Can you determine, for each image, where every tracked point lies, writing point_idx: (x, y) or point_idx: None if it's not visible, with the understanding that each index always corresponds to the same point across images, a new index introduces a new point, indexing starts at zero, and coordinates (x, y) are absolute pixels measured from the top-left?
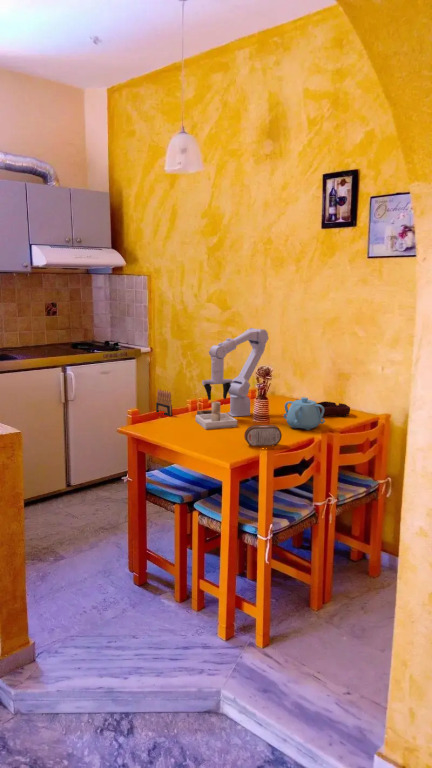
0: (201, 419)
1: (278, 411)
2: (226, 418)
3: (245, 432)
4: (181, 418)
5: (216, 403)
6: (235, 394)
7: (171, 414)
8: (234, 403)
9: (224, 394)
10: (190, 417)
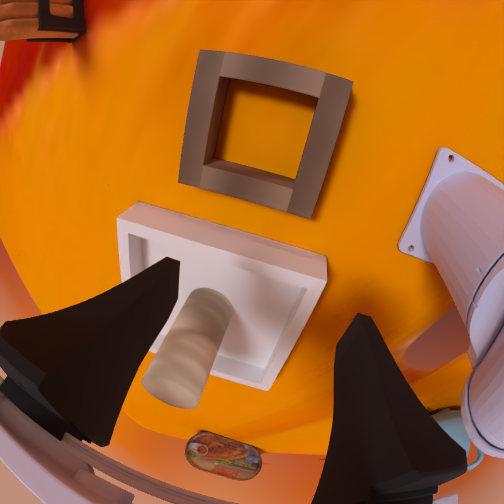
0: None
1: None
2: (296, 299)
3: (186, 450)
4: (97, 106)
5: (165, 400)
6: (496, 339)
7: (79, 29)
8: (450, 289)
9: (347, 377)
10: (144, 101)
